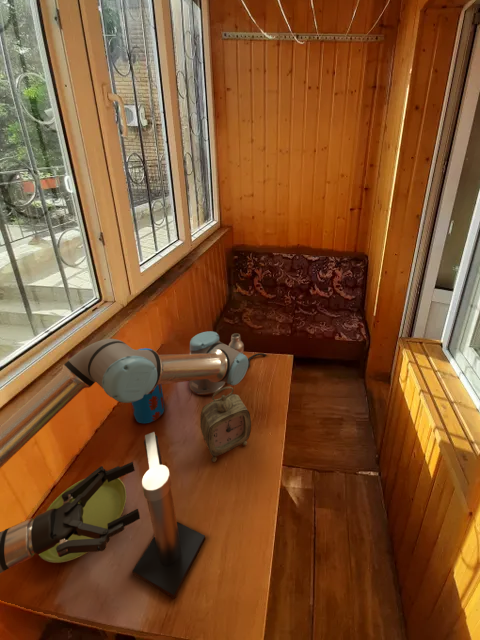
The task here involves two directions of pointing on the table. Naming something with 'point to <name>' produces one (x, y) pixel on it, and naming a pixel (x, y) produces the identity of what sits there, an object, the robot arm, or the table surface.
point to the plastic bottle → (236, 343)
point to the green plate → (92, 514)
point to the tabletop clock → (225, 423)
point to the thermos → (149, 405)
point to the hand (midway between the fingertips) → (136, 488)
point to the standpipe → (168, 549)
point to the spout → (155, 471)
